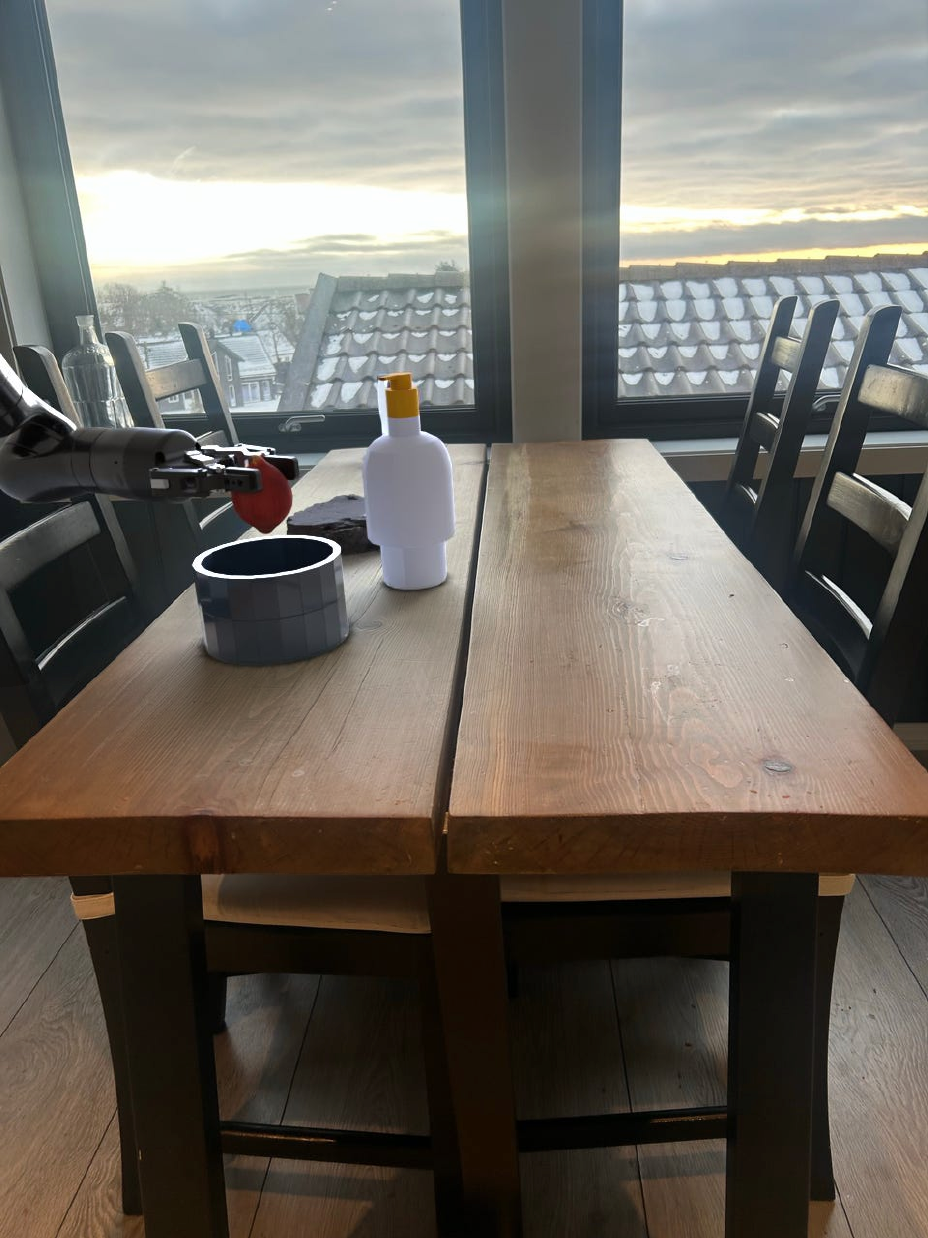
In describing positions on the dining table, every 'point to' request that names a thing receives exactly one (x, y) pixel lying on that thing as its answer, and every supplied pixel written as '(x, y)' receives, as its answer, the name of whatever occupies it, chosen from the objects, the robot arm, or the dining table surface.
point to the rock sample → (335, 523)
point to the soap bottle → (408, 493)
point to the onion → (264, 498)
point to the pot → (271, 599)
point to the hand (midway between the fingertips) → (278, 475)
